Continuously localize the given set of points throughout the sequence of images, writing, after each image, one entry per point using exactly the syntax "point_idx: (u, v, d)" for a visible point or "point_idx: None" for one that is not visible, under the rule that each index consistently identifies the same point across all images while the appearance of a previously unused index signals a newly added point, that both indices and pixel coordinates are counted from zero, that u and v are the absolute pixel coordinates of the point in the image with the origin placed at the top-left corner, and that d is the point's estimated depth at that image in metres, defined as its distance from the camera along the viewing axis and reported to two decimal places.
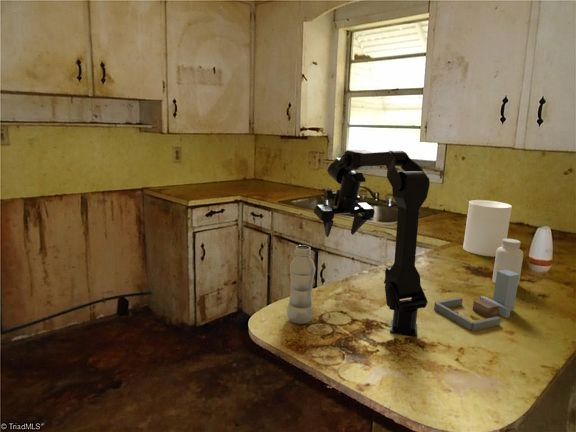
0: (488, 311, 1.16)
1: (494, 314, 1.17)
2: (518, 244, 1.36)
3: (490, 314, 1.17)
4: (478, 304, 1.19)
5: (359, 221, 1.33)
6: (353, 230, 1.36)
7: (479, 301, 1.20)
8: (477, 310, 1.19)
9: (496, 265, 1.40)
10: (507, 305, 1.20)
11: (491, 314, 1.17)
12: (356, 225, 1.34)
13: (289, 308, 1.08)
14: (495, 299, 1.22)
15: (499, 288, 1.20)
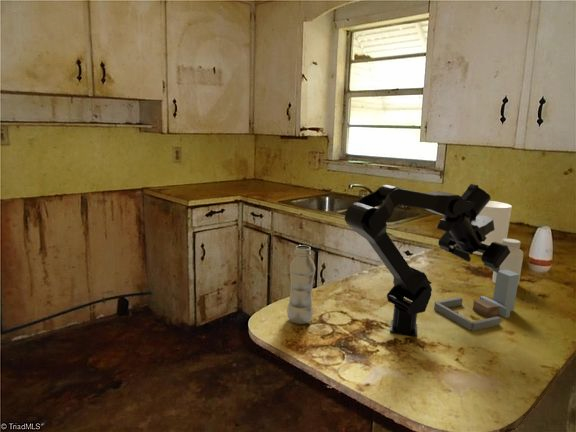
0: (488, 311, 1.16)
1: (494, 314, 1.17)
2: (518, 244, 1.36)
3: (489, 314, 1.17)
4: (478, 304, 1.19)
5: None
6: None
7: (479, 301, 1.20)
8: (477, 310, 1.19)
9: None
10: (507, 305, 1.20)
11: (491, 314, 1.17)
12: None
13: (289, 308, 1.08)
14: (495, 299, 1.22)
15: (499, 288, 1.20)
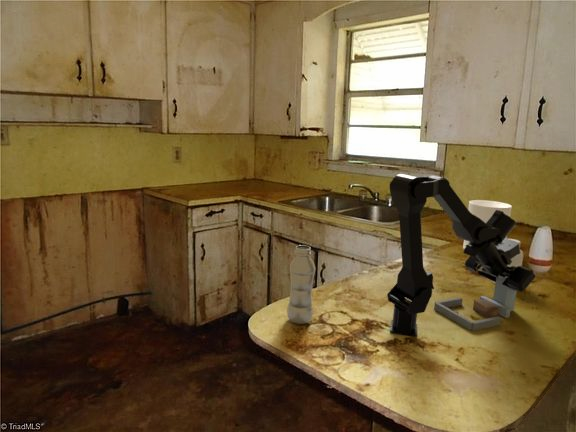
0: (487, 310, 1.16)
1: (493, 314, 1.17)
2: None
3: (489, 314, 1.17)
4: (478, 304, 1.19)
5: None
6: None
7: (479, 301, 1.20)
8: (477, 309, 1.19)
9: None
10: (507, 305, 1.20)
11: (490, 314, 1.17)
12: None
13: (289, 308, 1.08)
14: (495, 299, 1.22)
15: (499, 288, 1.20)
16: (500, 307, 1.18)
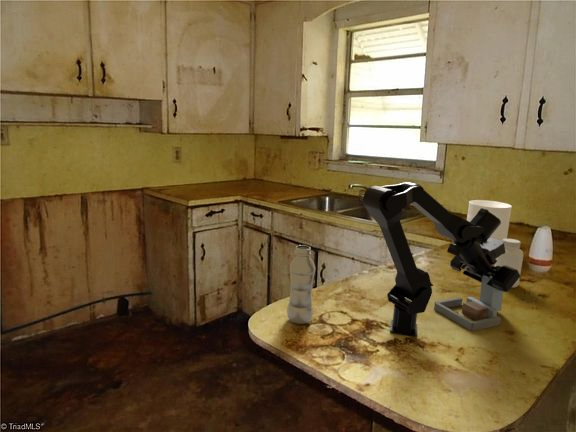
0: (478, 313, 1.14)
1: (483, 317, 1.15)
2: (518, 244, 1.36)
3: (479, 317, 1.14)
4: (467, 306, 1.16)
5: None
6: None
7: (468, 303, 1.17)
8: (466, 312, 1.17)
9: (496, 265, 1.40)
10: (494, 306, 1.17)
11: (480, 317, 1.15)
12: None
13: (289, 308, 1.08)
14: (482, 300, 1.20)
15: (485, 289, 1.18)
16: None
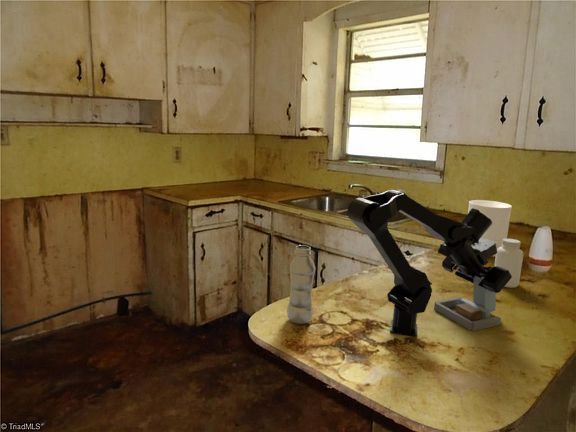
0: (471, 315, 1.13)
1: (477, 319, 1.14)
2: (518, 244, 1.36)
3: (473, 319, 1.13)
4: (461, 308, 1.15)
5: None
6: None
7: (462, 305, 1.16)
8: None
9: (496, 265, 1.40)
10: (488, 307, 1.16)
11: (474, 319, 1.14)
12: None
13: (289, 308, 1.08)
14: (475, 301, 1.18)
15: (478, 290, 1.17)
16: None
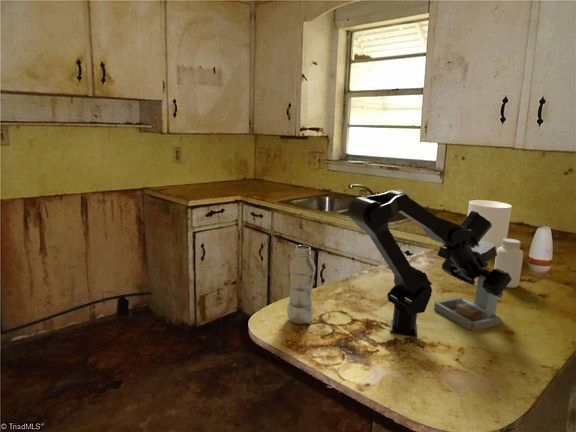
0: (471, 315, 1.13)
1: (477, 319, 1.14)
2: (518, 244, 1.36)
3: (473, 319, 1.13)
4: (460, 308, 1.15)
5: None
6: None
7: (462, 305, 1.16)
8: None
9: (496, 265, 1.40)
10: (489, 309, 1.17)
11: (474, 319, 1.13)
12: None
13: (289, 308, 1.08)
14: (477, 303, 1.19)
15: (480, 292, 1.17)
16: (481, 311, 1.15)
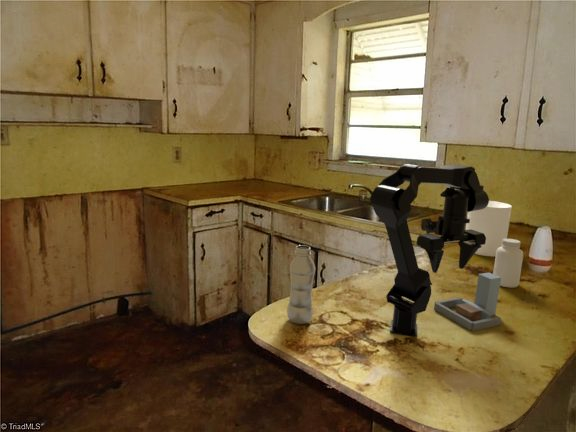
0: (471, 315, 1.13)
1: (477, 319, 1.14)
2: (518, 244, 1.36)
3: (473, 319, 1.13)
4: (461, 308, 1.15)
5: (470, 250, 1.12)
6: (462, 263, 1.14)
7: (462, 305, 1.16)
8: None
9: (496, 265, 1.40)
10: (489, 309, 1.17)
11: (474, 319, 1.13)
12: (466, 256, 1.13)
13: (289, 308, 1.08)
14: (477, 303, 1.19)
15: (480, 292, 1.17)
16: None
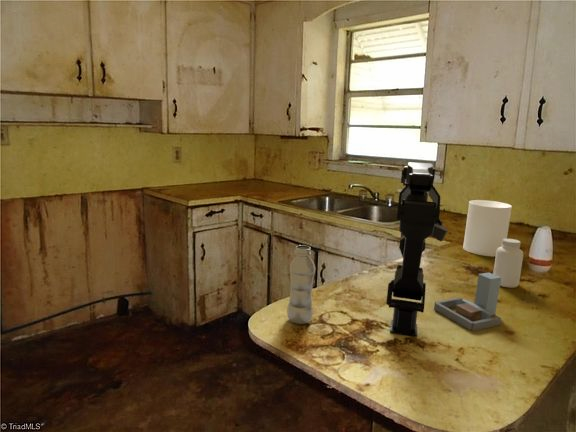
0: (471, 315, 1.13)
1: (477, 319, 1.14)
2: (518, 244, 1.36)
3: (473, 319, 1.13)
4: (460, 308, 1.15)
5: None
6: None
7: (462, 305, 1.16)
8: None
9: (496, 265, 1.40)
10: (489, 309, 1.17)
11: (474, 319, 1.13)
12: None
13: (289, 308, 1.08)
14: (477, 303, 1.19)
15: (480, 292, 1.17)
16: (481, 311, 1.15)
